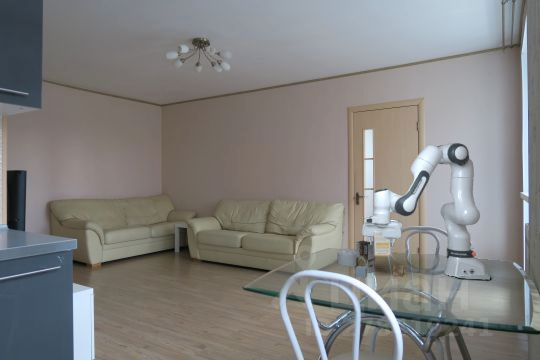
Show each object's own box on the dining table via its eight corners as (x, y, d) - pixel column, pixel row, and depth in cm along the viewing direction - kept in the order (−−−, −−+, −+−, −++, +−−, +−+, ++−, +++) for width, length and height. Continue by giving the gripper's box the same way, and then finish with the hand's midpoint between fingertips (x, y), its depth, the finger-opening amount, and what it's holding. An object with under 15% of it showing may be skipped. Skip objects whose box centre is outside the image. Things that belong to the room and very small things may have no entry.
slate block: (366, 276, 204) (367, 266, 204) (365, 278, 200) (365, 269, 199) (357, 275, 206) (357, 265, 206) (355, 277, 202) (355, 268, 201)
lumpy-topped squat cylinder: (360, 266, 224) (360, 252, 224) (338, 266, 225) (338, 251, 225) (357, 262, 234) (357, 248, 234) (336, 261, 235) (336, 248, 235)
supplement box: (389, 254, 203) (388, 230, 202) (390, 256, 198) (390, 231, 198) (373, 254, 204) (372, 230, 203) (374, 256, 199) (374, 231, 199)
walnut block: (403, 274, 207) (403, 265, 207) (402, 276, 203) (403, 267, 202) (394, 273, 209) (394, 264, 209) (393, 275, 205) (393, 266, 204)
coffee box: (375, 271, 214) (376, 242, 213) (368, 272, 210) (368, 243, 210) (363, 267, 221) (363, 240, 221) (355, 269, 218) (355, 241, 217)
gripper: (402, 219, 199) (402, 245, 199) (363, 217, 207) (363, 243, 207) (402, 221, 193) (401, 248, 193) (361, 219, 201) (361, 245, 201)
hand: (381, 245), depth 200 cm, fingers closed on supplement box, 8 cm apart
